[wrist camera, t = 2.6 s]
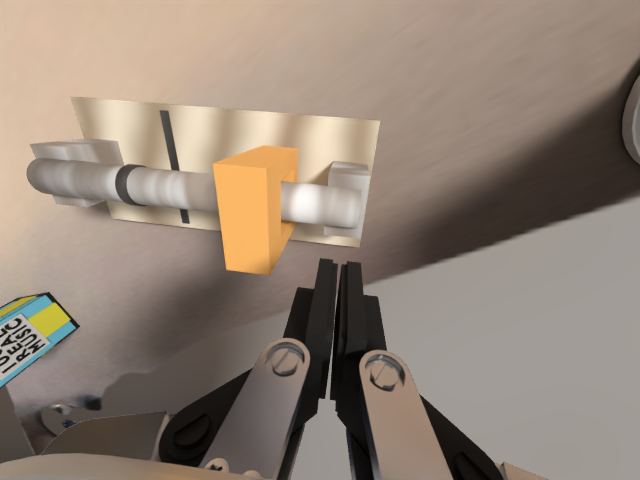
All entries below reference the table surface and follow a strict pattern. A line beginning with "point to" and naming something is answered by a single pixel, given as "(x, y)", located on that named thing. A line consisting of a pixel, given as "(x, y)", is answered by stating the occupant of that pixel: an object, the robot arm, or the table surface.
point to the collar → (254, 206)
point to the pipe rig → (207, 164)
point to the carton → (30, 332)
